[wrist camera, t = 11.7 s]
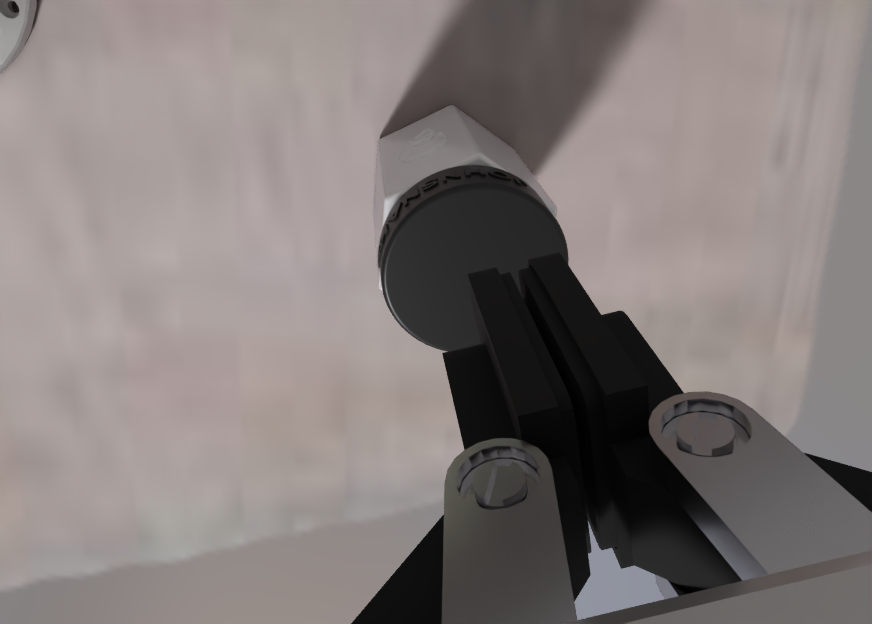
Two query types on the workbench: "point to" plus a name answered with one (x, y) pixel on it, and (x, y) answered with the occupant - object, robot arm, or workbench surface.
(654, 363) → the robot arm
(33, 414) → the workbench surface
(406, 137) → the jar
